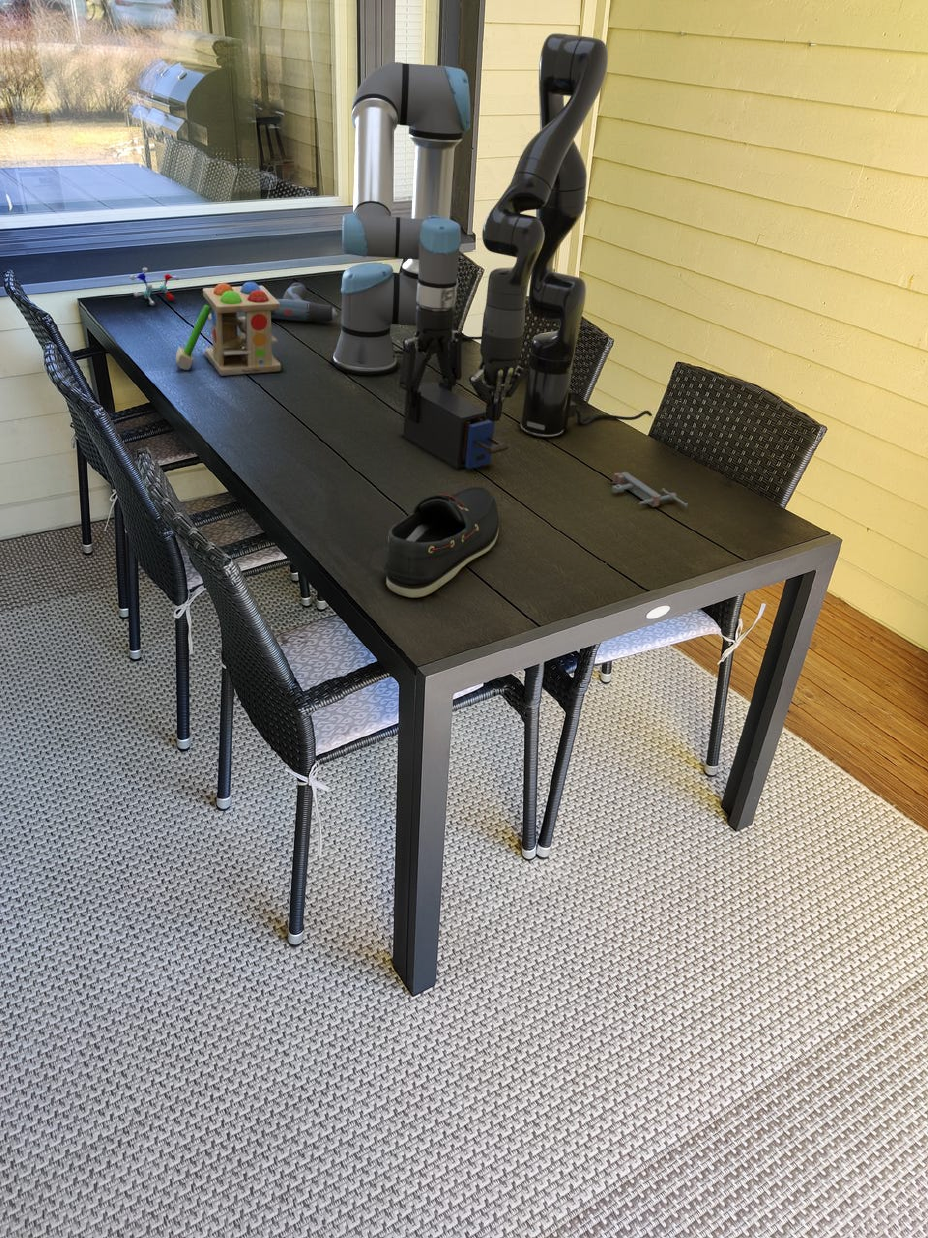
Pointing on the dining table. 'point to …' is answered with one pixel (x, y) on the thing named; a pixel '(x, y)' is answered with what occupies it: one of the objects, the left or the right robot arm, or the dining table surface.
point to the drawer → (479, 443)
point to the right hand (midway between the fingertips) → (493, 419)
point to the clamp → (623, 484)
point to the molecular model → (150, 289)
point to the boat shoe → (440, 540)
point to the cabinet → (441, 422)
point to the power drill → (301, 307)
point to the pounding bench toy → (229, 347)
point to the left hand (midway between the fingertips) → (428, 416)
